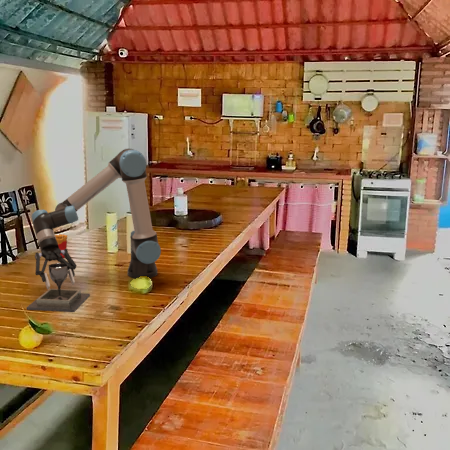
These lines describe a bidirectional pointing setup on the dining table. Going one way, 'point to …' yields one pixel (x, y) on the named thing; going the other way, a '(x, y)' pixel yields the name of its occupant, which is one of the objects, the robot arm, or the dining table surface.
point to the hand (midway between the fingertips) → (61, 285)
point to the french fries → (61, 242)
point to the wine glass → (58, 276)
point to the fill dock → (51, 304)
